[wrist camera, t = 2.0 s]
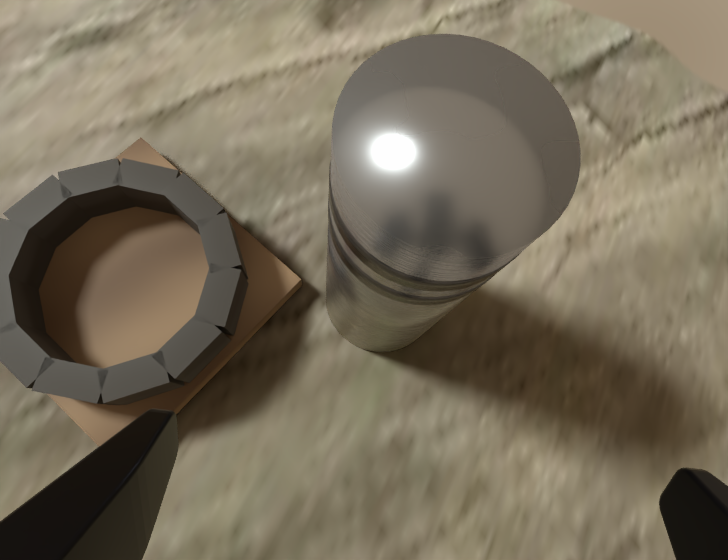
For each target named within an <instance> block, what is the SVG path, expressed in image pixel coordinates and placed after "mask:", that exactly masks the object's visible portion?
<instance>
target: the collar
mask: <svg viewBox="0 0 728 560" xmlns="http://www.w3.org/2000/svg"><path fill="white" fill-rule="evenodd" d="M58 176H59V180H58V179H57V178H56V177H55V176H53V175H52V176H50V177H49V178H48V179H46V180H45V181H44V182H43V183H41V184H40V185H39V186H38V187H36V188H35V189H34V190H32V191H31V192H30V193H29V194H27V195H26V196H25V197H24V198H22V199H21V200H20V201H18V202H17V203H16V204H15V205H13V206H12V207H11V208H9V209H8V210H7V211H6V212H4V213H3V214H4V215H5V216H6V217H7V218H8V219H9V220H6V219H2V218H0V361H1V362H2V363H3V364H4V365H5V366H6V367H7V368H8V369H9V370H10V371H11V372H12V373H13V374H14V375H15V376H16V378H17V379H18V380H19V381H20V382H21V383H22V384H23V385H24V386H25V387H26V388H32V391H37V392H42V393H47V394H48V395H49V396H50V397H51V398H52V399H53V400H54V401H55V402H56V403H57V404H58V405H59V406H60V407H61V408H62V409H63V410H64V411H65V412H66V413H67V414H68V415H69V416H70V417H71V418H72V419H73V420H74V422H75V423H76V424H77V425H78V426H79V427H80V428H81V429H82V430H83V431H84V432H85V433H86V434H87V435H88V436H89V437H90V438H91V439H92V440H93V441H94V442H95V443H96V444H97V445H98V446H101V445H102V444H103V443H105V442H106V441H107V440H109V439H110V438H111V437H113V436H114V435H115V434H117V433H118V432H119V431H121V430H122V429H123V428H124V427H126V426H127V425H128V424H130V423H131V422H132V421H134V420H135V419H136V418H138V417H139V416H140V415H142V414H143V413H144V412H146V411H147V410H149V409H152V408H155V409H164V410H172V411H174V412H175V414H177V413H178V412H179V411H180V410H181V409H182V408H183V407H184V406H185V405H186V404H187V403H188V402H189V401H190V400H191V399H192V398H193V397H194V396H195V395H196V394H197V393H198V392H199V391H200V390H201V389H202V388H203V387H204V386H205V385H206V384H207V383H208V382H209V381H210V379H211V378H212V377H213V376H214V375H215V374H216V373H217V372H218V371H219V370H220V369H221V368H222V367H223V366H224V365H225V364H226V363H227V362H228V361H229V360H230V359H231V358H232V357H233V356H234V355H235V354H236V353H237V352H238V351H239V350H240V349H241V348H242V347H243V346H244V345H245V343H246V342H247V341H248V340H249V339H250V338H251V337H252V336H253V335H254V334H255V333H256V332H257V331H258V330H259V329H260V328H261V327H262V326H263V325H264V324H265V323H266V322H267V321H268V320H269V319H270V318H271V317H272V316H273V315H274V314H275V313H276V312H277V311H278V310H279V309H280V307H281V306H282V305H283V304H284V303H285V302H286V301H287V300H288V299H289V298H290V297H291V296H292V295H293V294H294V293H295V292H296V291H297V290H298V289H299V288H300V287H301V286H302V282H301V279H300V278H299V277H298V276H297V275H296V274H295V273H294V272H292V271H291V270H290V269H289V268H288V267H287V266H286V265H284V264H283V263H282V262H281V261H280V260H279V259H278V258H277V257H275V256H274V255H273V254H272V253H271V252H270V251H269V250H268V249H266V248H265V247H264V246H263V245H262V244H261V243H260V242H259V241H257V240H256V239H255V238H254V237H253V236H252V235H251V234H250V233H248V232H247V231H246V230H245V229H244V228H243V227H242V226H240V225H239V224H238V223H237V222H236V221H235V220H234V219H233V218H231V217H230V216H229V215H228V214H227V213H226V212H225V210H224V208H223V207H222V206H221V205H219V204H218V203H217V202H216V201H215V200H214V199H213V198H211V197H210V196H209V195H208V194H207V193H206V192H205V191H204V190H202V189H201V188H200V187H199V186H198V185H197V184H196V183H195V182H193V181H192V180H191V179H190V178H189V177H188V176H187V175H186V174H184V173H181V172H180V171H179V170H177V169H176V168H175V167H174V166H173V165H172V164H171V163H169V162H168V161H167V160H166V159H165V158H164V157H163V156H161V155H160V154H159V153H158V152H157V151H156V150H155V149H154V148H152V147H151V146H150V145H149V144H148V143H147V142H146V141H145V140H143V139H142V138H140V139H138V140H137V141H136V142H135V143H133V144H132V145H131V146H130V147H128V148H127V149H126V150H125V151H123V152H122V153H121V154H120V155H119V156H117V157H116V158H115V159H111V160H107V161H103V162H99V163H94V164H90V165H86V166H82V167H78V168H73V169H69V170H65V171H61V172H58Z"/></svg>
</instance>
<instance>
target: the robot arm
mask: <svg viewBox="0 0 728 560" xmlns="http://www.w3.org/2000/svg"><path fill="white" fill-rule="evenodd" d="M177 452H178V431H177V418H176V414H175V412H174V411H172V410H164V409H155V408H152V409H149V410H147V411H146V412H144V413H143V414H142V415H140V416H139V417H138V418H136V419H135V420H134V421H132V422H131V423H130V424H128V425H127V426H126V427H124V428H123V429H122V430H121V431H119V432H118V433H117V434H115V435H114V436H113V437H111V438H110V439H109V440H107V441H106V442H105V443H103V444H102V445H101V446H99V447H98V448H97V449H95V450H94V451H93V452H91V453H90V454H89V455H87V456H86V457H85V458H83V459H82V460H81V461H80V462H78V463H77V464H76V465H74V466H73V467H72V468H70V469H69V470H68V471H66V472H65V473H64V474H62V475H61V476H60V477H58V478H57V479H56V480H54V481H53V482H52V483H50V484H49V485H48V486H46V487H45V488H44V489H42V490H41V491H40V492H38V493H37V494H36V495H35V496H33V497H32V498H31V499H29V500H28V501H27V502H25V503H24V504H23V505H21V506H20V507H19V508H17V509H16V510H15V511H13V512H12V513H11V514H9V515H8V516H7V517H5V518H4V519H3V520H1V521H0V560H142V558H143V556H144V553H145V551H146V548H147V546H148V543H149V540H150V537H151V534H152V531H153V528H154V525H155V522H156V519H157V516H158V513H159V510H160V506H161V503H162V500H163V497H164V494H165V491H166V488H167V485H168V482H169V479H170V476H171V472H172V469H173V466H174V463H175V460H176V457H177ZM659 506H660V511H661V514H662V517H663V521H664V524H665V527H666V530H667V533H668V536H669V539H670V542H671V545H672V548H673V551H674V554H675V557H676V560H728V486H727V485H725V484H724V483H723V482H721V481H720V480H719V479H717V478H716V477H715V476H713V475H712V474H711V473H709V472H707V471H705V470H702V469H693V468H681V469H679V470H678V471H677V472H676V473H675V474H674V476H673V477H672V479H671V480H670V482H669V484H668V485H667V487H666V488H665V490H664V491H663V493H662V494H661V496H660V500H659Z"/></svg>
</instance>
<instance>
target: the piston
mask: <svg viewBox="0 0 728 560" xmlns="http://www.w3.org/2000/svg"><path fill="white" fill-rule="evenodd" d="M579 171H580V144H579V137H578V133H577V130H576V126H575V123H574V120H573V118H572V116H571V113H570V111H569V109H568V107H567V105H566V104H565V102H564V100H563V98H562V97H561V95H560V94H559V93H558V91H557V90H556V89H555V87H554V86H553V85H552V84H551V82H550V81H549V80H548V79H547V78H546V77H545V76H544V75H543V74H542V73H541V72H540V71H538V70H537V69H536V68H535V67H534V66H533V65H531V64H530V63H529V62H527V61H526V60H524V59H523V58H521V57H520V56H518V55H517V54H515V53H513V52H511V51H509V50H507V49H505V48H504V47H501V46H499V45H496V44H494V43H491V42H488V41H485V40H481V39H478V38H474V37H469V36H463V35H454V34H430V35H423V36H417V37H412V38H409V39H405V40H402V41H399V42H397V43H394V44H392V45H389V46H387V47H385V48H384V49H382V50H380V51H378V52H377V53H375V54H374V55H372V56H371V57H370V58H369V59H367V60H366V61H365V62H363V64H362V65H361V66H360V67H359V68H358V69H357V70H356V71H355V72H354V73H353V74H352V76H351V77H350V78H349V80H348V81H347V83H346V84H345V86H344V88H343V90H342V92H341V94H340V96H339V99H338V102H337V104H336V107H335V111H334V117H333V123H332V143H331V161H330V173H329V201H328V247H327V273H326V307H327V311H328V315H329V317H330V320H331V322H332V323H333V325H334V327H335V328H336V329H337V331H338V332H339V333H340V334H341V335H342V336H343V337H344V338H345V339H346V340H348V341H349V342H350V343H352V344H354V345H355V346H357V347H360V348H362V349H365V350H369V351H374V352H389V351H394V350H398V349H401V348H403V347H406V346H407V345H409V344H411V343H412V342H414V341H415V340H416V339H417V338H419V337H420V336H421V335H422V334H423V333H425V332H426V331H427V330H428V329H429V328H431V327H432V326H433V325H434V324H435V323H437V322H438V321H439V320H440V319H441V318H443V317H444V316H445V315H446V314H447V313H449V312H450V311H451V310H452V309H453V308H455V307H456V306H457V305H458V304H459V303H461V302H462V301H463V300H464V299H465V298H467V297H468V296H469V295H470V294H471V293H473V292H474V291H476V290H477V289H478V288H479V287H481V286H482V285H483V284H485V283H486V282H487V281H488V280H489V279H491V278H492V277H493V276H494V275H495V274H496V273H497V272H499V271H500V270H501V269H503V268H504V267H505V266H506V265H507V264H509V263H510V262H511V261H512V260H514V259H515V258H516V257H517V256H518V255H519V254H520V253H521V252H522V251H523V250H524V249H525V248H526V247H528V246H529V245H530V244H531V243H532V242H534V241H535V240H536V239H537V238H538V237H540V236H541V235H542V234H543V233H544V232H546V231H547V230H548V229H549V228H550V227H551V226H552V225H553V224H554V223H555V222H556V221H557V220H558V219H559V218H560V216H561V215H562V213H563V212H564V210H565V209H566V208H567V206H568V204H569V202H570V200H571V198H572V196H573V194H574V191H575V188H576V185H577V182H578V178H579Z"/></svg>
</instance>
